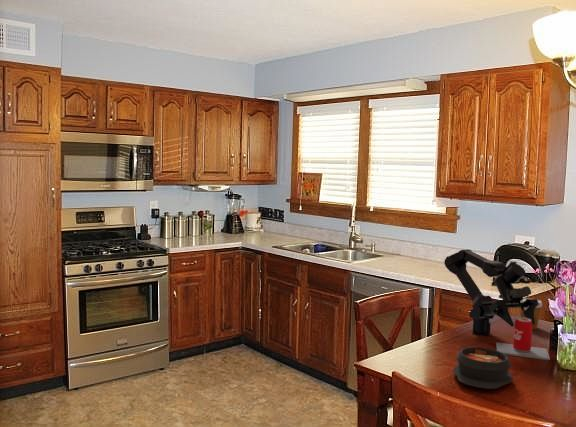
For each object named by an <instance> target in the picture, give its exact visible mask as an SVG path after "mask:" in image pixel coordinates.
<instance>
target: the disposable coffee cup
mask: <svg viewBox="0 0 576 427" xmlns="http://www.w3.org/2000/svg"><path fill="white" fill-rule="evenodd" d="M527 299H533V298H530V297H523V300H522V301H520V302H521V303H523V302H524V301H526V300H527ZM537 301H538V303H539V305H538V306H537V307H536V308H535V309H534V321H535V325H532V330H537V328H538V325H539V324H538V323H539V319H540V315H541V310H542V306H543V302H542V300H540V299H537ZM519 310H520V311H519V312H520V317H524V318H526V316H525V315H524V313H523V312H524V311H523V310H522V309H521V308H519Z"/></svg>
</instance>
